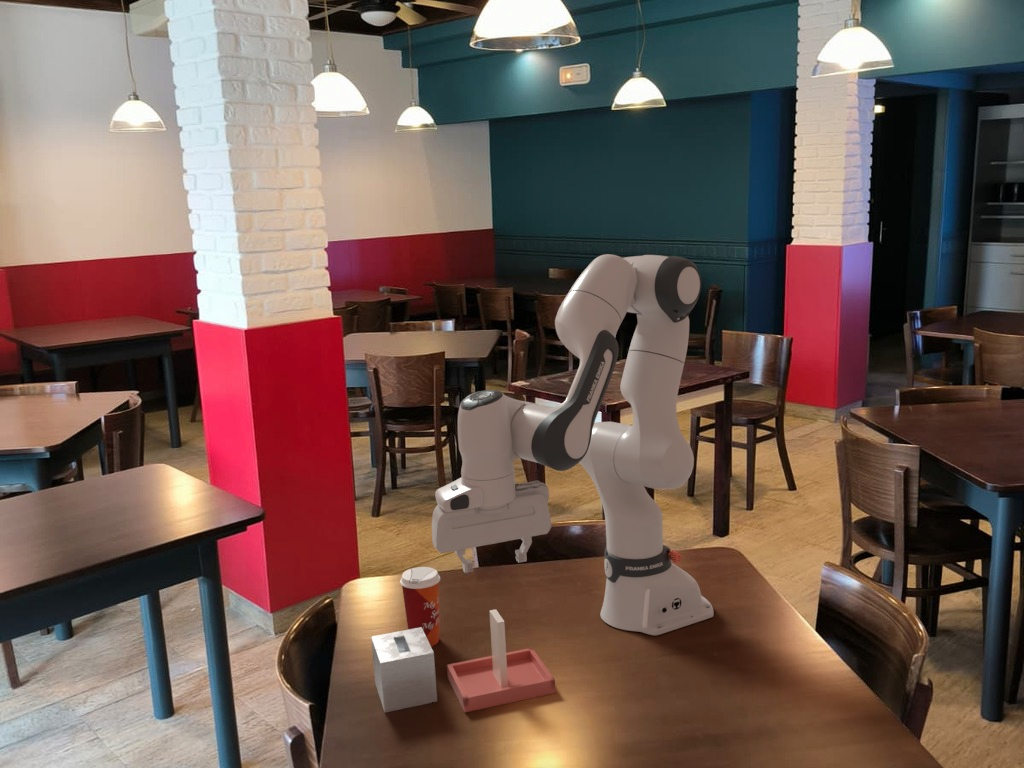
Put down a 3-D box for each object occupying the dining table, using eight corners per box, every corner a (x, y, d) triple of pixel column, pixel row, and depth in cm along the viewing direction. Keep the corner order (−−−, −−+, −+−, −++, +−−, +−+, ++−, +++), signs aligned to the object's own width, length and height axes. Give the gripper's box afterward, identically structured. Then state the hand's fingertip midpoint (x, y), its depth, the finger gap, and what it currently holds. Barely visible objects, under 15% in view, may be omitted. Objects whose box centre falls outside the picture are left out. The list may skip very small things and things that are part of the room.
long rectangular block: (499, 672, 157) (496, 609, 155) (507, 686, 153) (504, 621, 150) (493, 673, 157) (489, 610, 155) (501, 687, 152) (497, 622, 150)
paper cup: (438, 652, 168) (433, 582, 165) (399, 650, 169) (393, 581, 166) (449, 632, 175) (444, 566, 172) (412, 630, 177) (407, 564, 174)
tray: (532, 660, 163) (532, 647, 162) (555, 692, 152) (554, 679, 151) (447, 677, 158) (446, 664, 158) (464, 712, 147) (463, 698, 147)
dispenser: (425, 673, 160) (421, 627, 158) (437, 701, 151) (433, 652, 149) (375, 683, 158) (371, 636, 156) (384, 712, 148) (380, 663, 146)
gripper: (541, 473, 154) (546, 548, 157) (425, 492, 148) (433, 570, 151) (554, 484, 148) (558, 561, 151) (434, 504, 142) (441, 584, 145)
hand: (495, 566), depth 151 cm, fingers open, 8 cm apart
